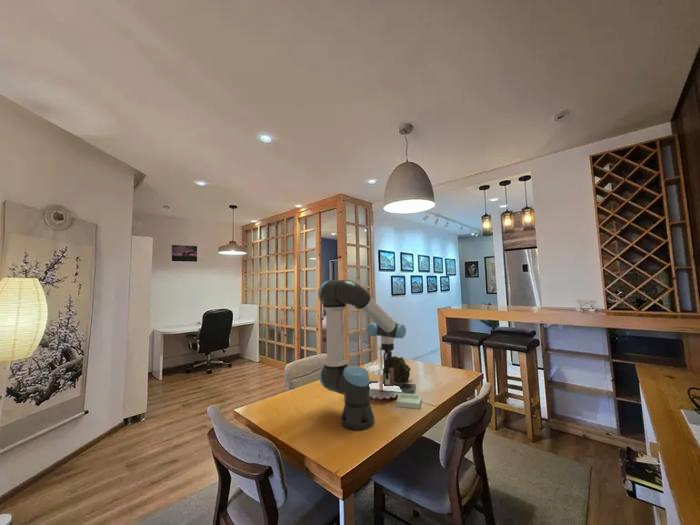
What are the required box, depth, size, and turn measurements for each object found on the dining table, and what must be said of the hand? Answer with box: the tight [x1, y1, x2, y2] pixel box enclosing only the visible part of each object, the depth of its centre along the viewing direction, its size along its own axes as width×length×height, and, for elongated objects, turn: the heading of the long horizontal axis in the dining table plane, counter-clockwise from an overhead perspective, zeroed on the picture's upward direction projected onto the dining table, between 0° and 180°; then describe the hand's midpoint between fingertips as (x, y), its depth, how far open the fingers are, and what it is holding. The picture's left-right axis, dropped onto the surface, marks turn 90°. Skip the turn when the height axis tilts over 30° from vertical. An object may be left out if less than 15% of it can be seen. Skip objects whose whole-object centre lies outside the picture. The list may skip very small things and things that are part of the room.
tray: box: [395, 393, 423, 410], centre depth 147 cm, size 12×12×3 cm
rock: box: [392, 355, 411, 383], centre depth 183 cm, size 12×9×15 cm
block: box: [382, 367, 394, 386], centre depth 169 cm, size 6×6×11 cm
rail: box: [369, 379, 417, 394], centre depth 169 cm, size 10×30×2 cm, turn 71°
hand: (388, 382), depth 169 cm, fingers closed on block, 5 cm apart
